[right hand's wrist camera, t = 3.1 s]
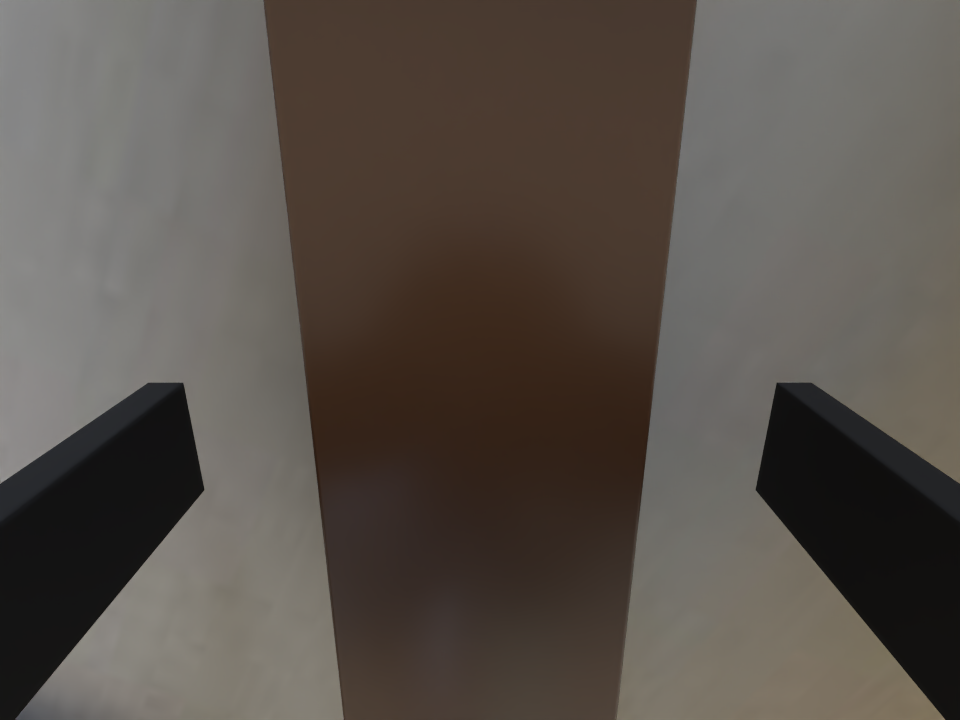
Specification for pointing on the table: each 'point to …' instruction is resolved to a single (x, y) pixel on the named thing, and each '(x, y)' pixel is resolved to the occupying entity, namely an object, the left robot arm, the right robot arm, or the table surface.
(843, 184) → the table surface
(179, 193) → the table surface
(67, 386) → the table surface
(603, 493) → the walnut bar
